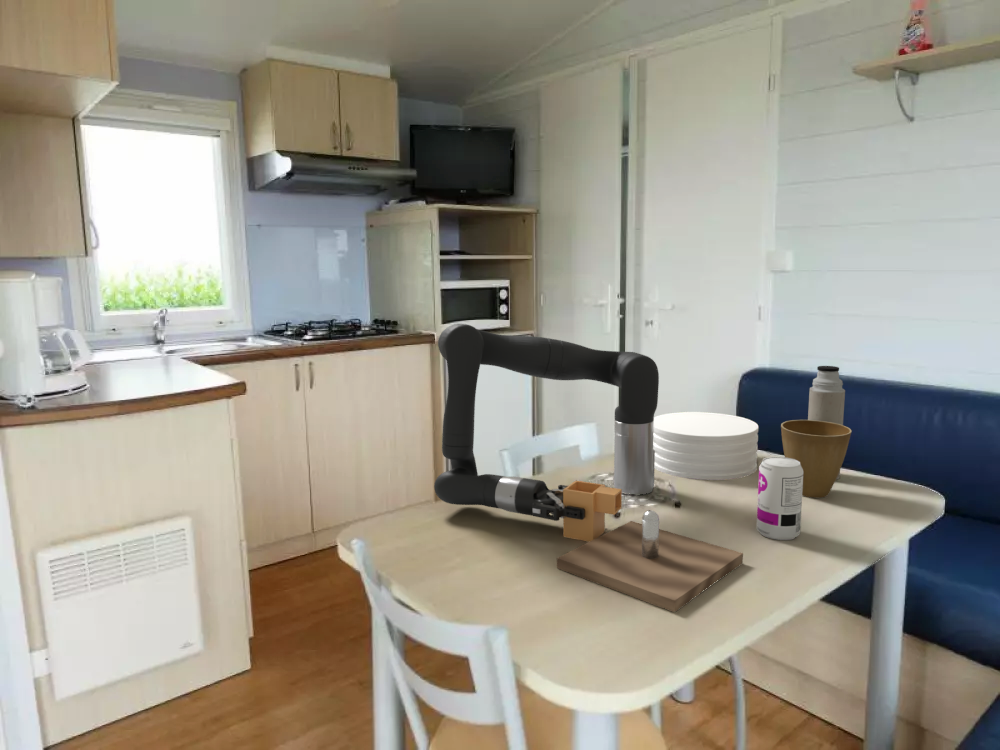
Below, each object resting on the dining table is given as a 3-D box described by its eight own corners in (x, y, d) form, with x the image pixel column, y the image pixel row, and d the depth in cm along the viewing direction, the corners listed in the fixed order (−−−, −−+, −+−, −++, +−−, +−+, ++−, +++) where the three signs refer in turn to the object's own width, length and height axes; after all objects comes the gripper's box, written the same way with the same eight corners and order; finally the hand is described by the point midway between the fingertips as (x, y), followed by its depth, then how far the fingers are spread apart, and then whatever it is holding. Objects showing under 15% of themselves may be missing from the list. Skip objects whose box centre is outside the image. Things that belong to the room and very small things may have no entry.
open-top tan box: (563, 536, 141) (563, 489, 139) (575, 526, 146) (575, 480, 145) (612, 546, 136) (612, 497, 134) (623, 534, 141) (623, 487, 140)
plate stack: (693, 486, 170) (694, 441, 168) (628, 458, 196) (629, 418, 194) (780, 471, 181) (782, 428, 179) (708, 445, 207) (709, 408, 205)
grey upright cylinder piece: (647, 550, 128) (648, 506, 127) (661, 555, 126) (662, 510, 125) (638, 555, 126) (639, 511, 125) (652, 560, 124) (653, 515, 123)
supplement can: (756, 538, 138) (759, 465, 135) (756, 523, 146) (759, 454, 143) (800, 543, 135) (804, 469, 133) (798, 528, 143) (802, 457, 140)
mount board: (631, 530, 143) (631, 520, 143) (742, 563, 127) (742, 553, 127) (557, 568, 127) (556, 557, 126) (674, 612, 110) (674, 600, 110)
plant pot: (771, 496, 162) (774, 429, 159) (785, 479, 174) (788, 417, 171) (842, 508, 153) (846, 438, 151) (851, 489, 166) (855, 423, 163)
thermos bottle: (830, 470, 180) (837, 363, 176) (845, 480, 172) (852, 368, 168) (799, 471, 180) (805, 364, 176) (813, 480, 172) (819, 369, 168)
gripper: (504, 488, 141) (579, 500, 133) (535, 469, 153) (605, 479, 146) (505, 523, 142) (579, 537, 135) (536, 502, 155) (605, 513, 147)
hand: (592, 507), depth 140 cm, fingers open, 8 cm apart
